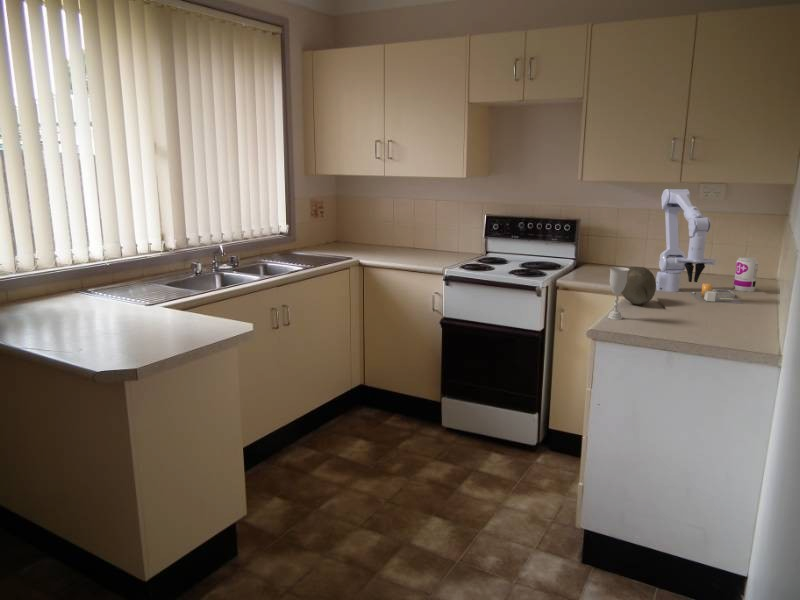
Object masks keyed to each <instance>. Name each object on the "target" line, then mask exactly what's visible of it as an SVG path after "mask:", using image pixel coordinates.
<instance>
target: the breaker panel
mask: <svg viewBox="0 0 800 600" xmlns="http://www.w3.org/2000/svg"><path fill="white" fill-rule="evenodd" d="M689 293H690V295H692V296H693V297H694V298H695V299H696V300H698V301H699V302H700V303H714V304H735V305H744V303H743V302H742V301H741V300H739V299H737V298H736V297H735V296H734V298H720V297H715V302H714V301H706V300H705V299H704V297H703V296H701V292H696V291H692V292H689Z"/></svg>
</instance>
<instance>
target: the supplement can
mask: <svg viewBox="0 0 800 600" xmlns="http://www.w3.org/2000/svg"><path fill="white" fill-rule="evenodd" d="M735 265H736V266H735V273H734V280H733V287H732V289H733V290H734V291H738V292H743V293H746V292H747V293H753V292H755V289H756V283H757V274H758V268H759V261H758V258H756V257H750V256H739V257H738V259H736V264H735Z"/></svg>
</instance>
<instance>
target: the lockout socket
mask: <svg viewBox="0 0 800 600" xmlns="http://www.w3.org/2000/svg"><path fill="white" fill-rule="evenodd" d="M711 291H714V292H715V293H716V296H715V297H720V298H734V297H735V292H733V291H732V290H730V289H714V288H713V289H712V290H711Z"/></svg>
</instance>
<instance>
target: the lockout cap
mask: <svg viewBox="0 0 800 600" xmlns="http://www.w3.org/2000/svg"><path fill="white" fill-rule="evenodd" d="M712 288H713V284H712V283H706V282H704V283H702V286H701V292H700V293H701V296H703V297H704V295H705V291H712Z"/></svg>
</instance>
